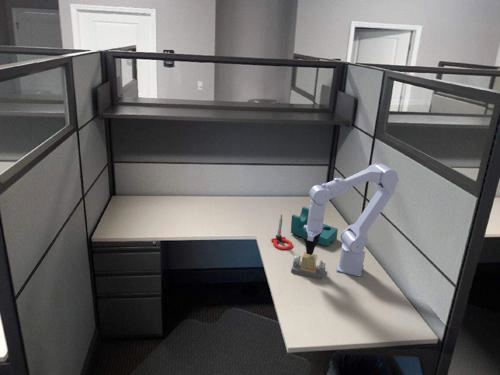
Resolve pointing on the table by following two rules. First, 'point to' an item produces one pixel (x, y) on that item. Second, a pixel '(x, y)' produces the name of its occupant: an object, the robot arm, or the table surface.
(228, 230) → the table surface
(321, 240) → the teal l-shaped bracket
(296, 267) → the stand
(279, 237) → the tow hook
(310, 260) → the coupling block
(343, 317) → the table surface
